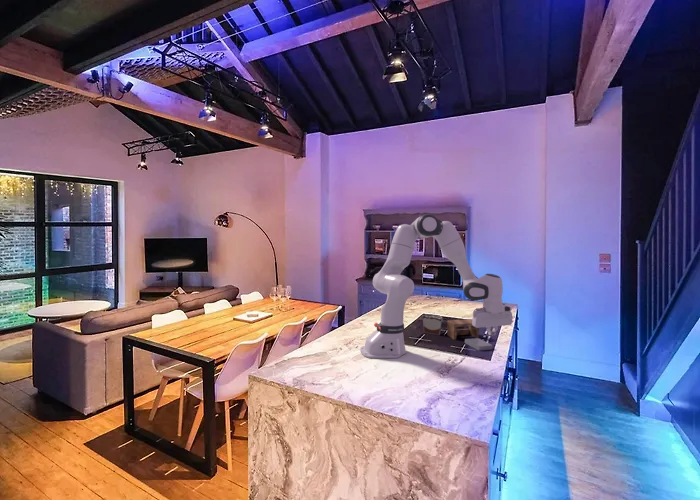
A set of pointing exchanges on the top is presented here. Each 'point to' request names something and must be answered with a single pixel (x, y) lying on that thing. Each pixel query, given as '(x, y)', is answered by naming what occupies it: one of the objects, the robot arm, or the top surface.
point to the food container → (432, 323)
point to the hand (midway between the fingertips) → (491, 334)
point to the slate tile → (478, 344)
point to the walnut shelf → (453, 330)
